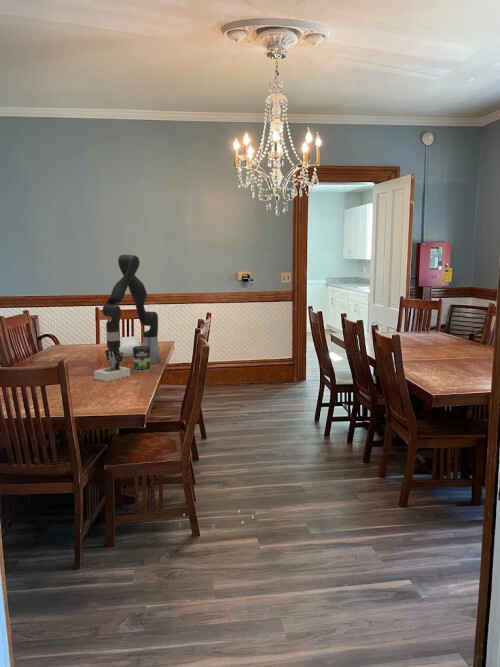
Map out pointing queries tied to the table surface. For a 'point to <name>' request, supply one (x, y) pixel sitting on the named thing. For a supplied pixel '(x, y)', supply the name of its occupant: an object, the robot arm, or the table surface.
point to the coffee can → (141, 358)
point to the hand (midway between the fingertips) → (114, 368)
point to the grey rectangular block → (112, 365)
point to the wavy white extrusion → (128, 345)
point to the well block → (111, 374)
